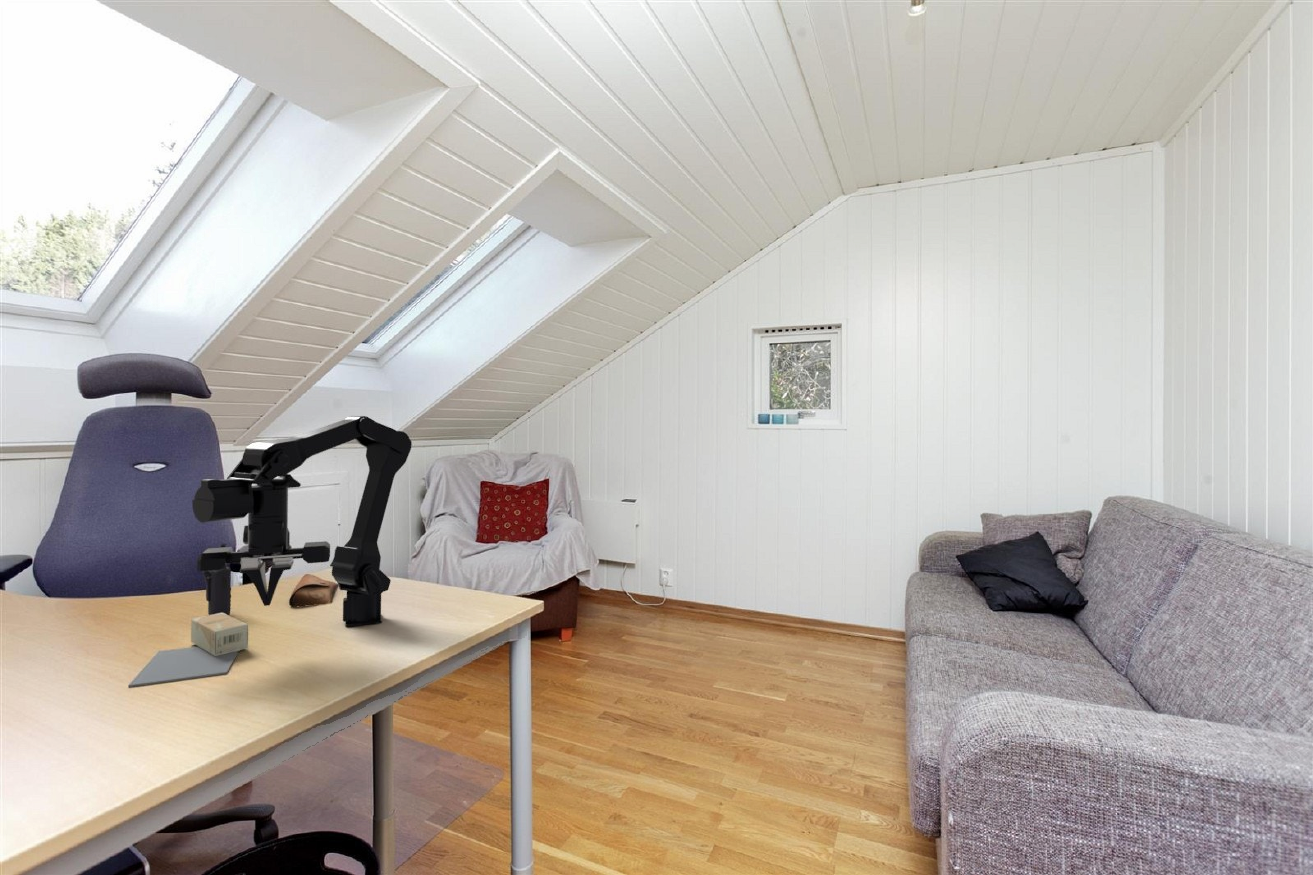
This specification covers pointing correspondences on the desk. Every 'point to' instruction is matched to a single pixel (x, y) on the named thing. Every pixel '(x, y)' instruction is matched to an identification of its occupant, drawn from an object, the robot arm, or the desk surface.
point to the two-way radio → (218, 590)
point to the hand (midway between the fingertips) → (267, 605)
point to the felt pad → (183, 666)
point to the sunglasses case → (312, 591)
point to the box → (219, 634)
